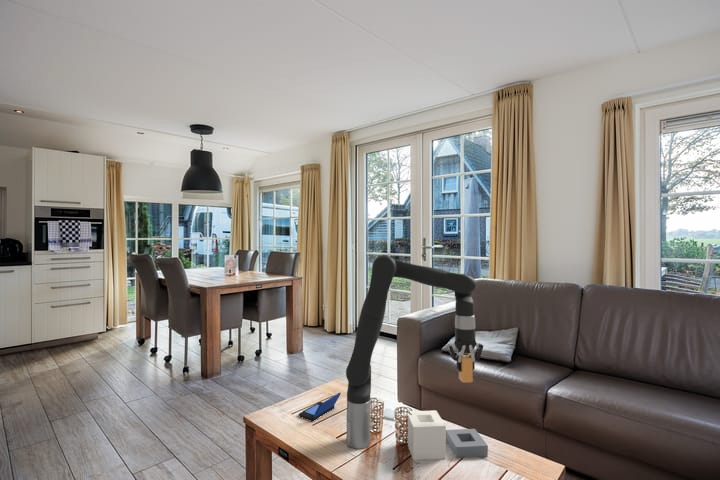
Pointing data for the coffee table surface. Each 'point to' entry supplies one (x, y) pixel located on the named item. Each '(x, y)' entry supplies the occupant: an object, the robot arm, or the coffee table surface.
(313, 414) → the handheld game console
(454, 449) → the lower base
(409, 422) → the upper stand
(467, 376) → the plug
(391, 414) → the hard drive
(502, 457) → the coffee table surface
